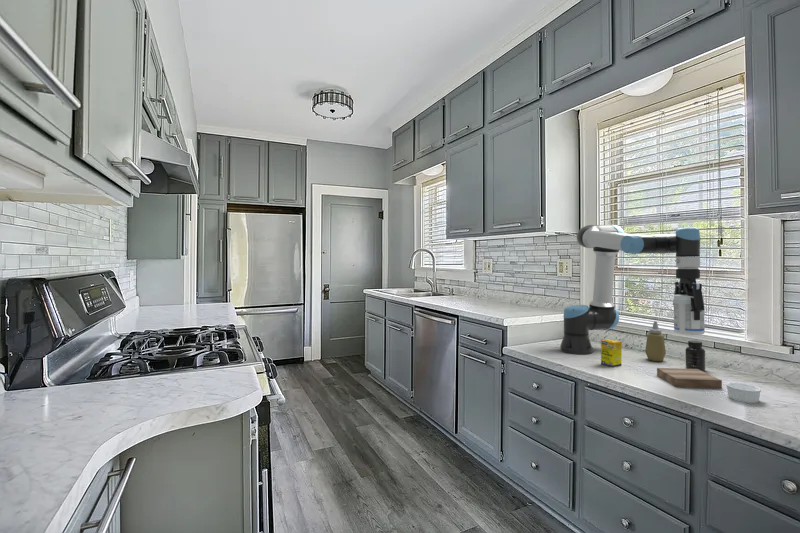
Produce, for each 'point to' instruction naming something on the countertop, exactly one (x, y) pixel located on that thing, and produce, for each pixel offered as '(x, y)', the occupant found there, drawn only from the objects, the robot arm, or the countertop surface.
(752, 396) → the ramekin
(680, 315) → the supplement tub
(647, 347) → the squeeze bottle
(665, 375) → the walnut plinth
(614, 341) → the supplement box
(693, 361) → the supplement bottle
